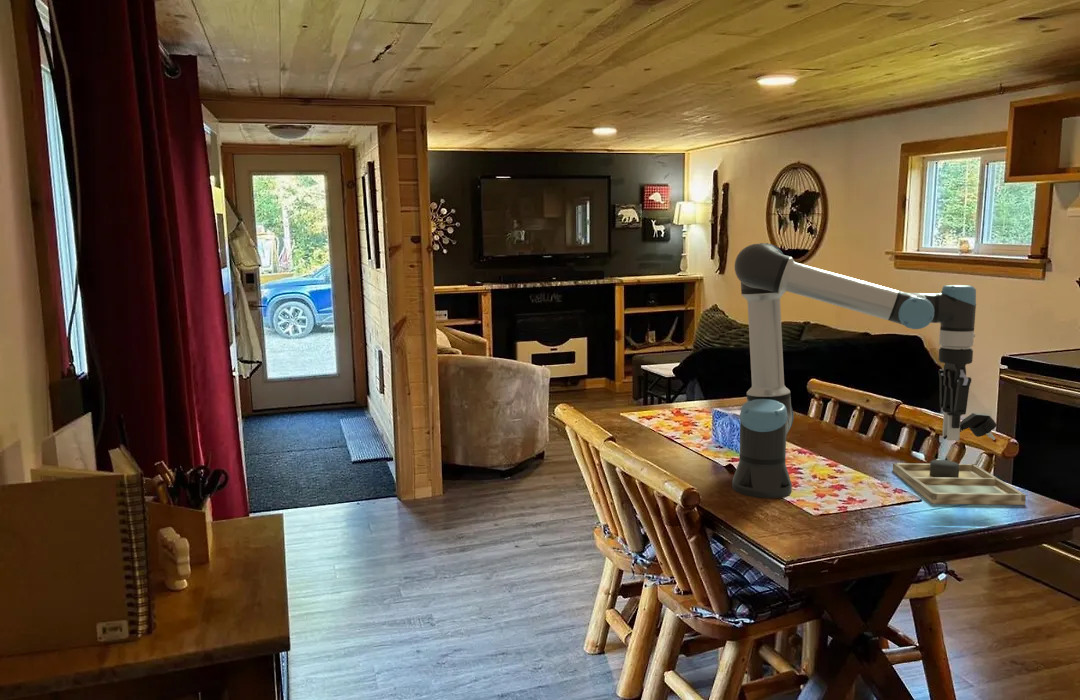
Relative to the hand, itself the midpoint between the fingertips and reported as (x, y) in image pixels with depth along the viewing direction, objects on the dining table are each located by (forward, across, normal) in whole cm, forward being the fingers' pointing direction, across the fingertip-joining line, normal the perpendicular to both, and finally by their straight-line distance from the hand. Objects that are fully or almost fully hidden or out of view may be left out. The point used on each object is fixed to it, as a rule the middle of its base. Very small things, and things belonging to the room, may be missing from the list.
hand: (950, 438), depth 197 cm
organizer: (+15, +6, -4) cm, 17 cm away
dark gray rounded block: (+14, +13, -4) cm, 19 cm away
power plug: (+2, 0, 0) cm, 2 cm away
